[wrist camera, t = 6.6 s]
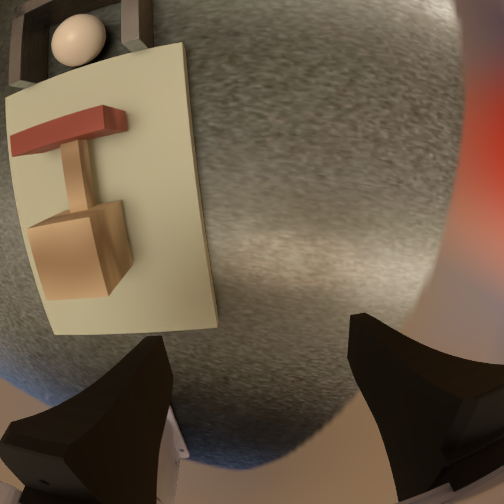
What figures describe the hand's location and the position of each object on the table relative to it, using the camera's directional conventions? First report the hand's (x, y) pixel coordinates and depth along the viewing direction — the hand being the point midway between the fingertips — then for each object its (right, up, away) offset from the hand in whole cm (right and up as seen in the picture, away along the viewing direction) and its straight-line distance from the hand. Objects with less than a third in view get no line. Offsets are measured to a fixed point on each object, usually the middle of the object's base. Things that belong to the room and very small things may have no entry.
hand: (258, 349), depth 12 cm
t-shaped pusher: (-10, +7, +5) cm, 13 cm away
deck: (-10, +7, +8) cm, 14 cm away
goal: (-11, +18, +4) cm, 22 cm away
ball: (-11, +17, +2) cm, 20 cm away
